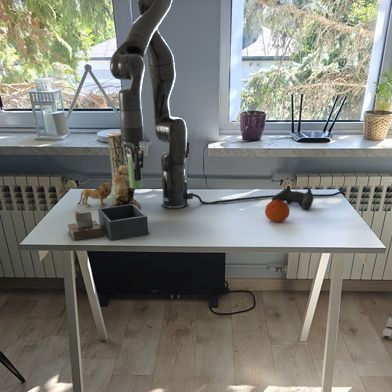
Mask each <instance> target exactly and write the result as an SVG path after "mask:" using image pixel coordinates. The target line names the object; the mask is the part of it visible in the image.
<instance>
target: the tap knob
mask: <svg viewBox="0 0 392 392" xmlns="http://www.w3.org/2000/svg"><path fill="white" fill-rule="evenodd" d="M73 215H74V222H75V223H76V227H77V228H82V227H89V226H93V222H92V221H93V216H92V215H93V214H92V211H91V210H90V209H87V210H80V211H77V210H76V211H74V212H73Z"/></svg>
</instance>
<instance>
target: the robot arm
mask: <svg viewBox="0 0 392 392" xmlns="http://www.w3.org/2000/svg"><path fill="white" fill-rule="evenodd" d="M172 3H173V0H136V5H137V9H138V15H139V17H138V18H137V19H136V20H135V21H134V22H133V23H132V25H131V26H130V28H129V30H128V32H127V35H126V37H125V39H124V41H123V42H122V43H121V44H120V45H119V46H118V47H117V49H116V50H115V51H114V53H113V54H112V56H111V58H110V62H109V71H110V74H111V76H112V77H113V78H114V79H116V80H122V81H124V80H125V81H128V80H129V81H130V85H129V87H124V88H121V89H119V91H118V106H119V107H118V108H119V129H120V130H119V131H121V139H122V141H124V142H125V144H124V149H125V155H126V162H127V164H128V157H127V153H130V155H131V162H133V168H134V179H135V180H136V181H139V180H141V170H142V169H143V168H144V156H145V155H144V153H145V152H144V150H142V147H141V145H140V142H142V141H144V140H145V129H144V128H145V127H144V116H143V115H144V114H143V109H142V90H143V89H142V88H143V82H144V76H145V72H146V64H145V61H144V59H143V58H144V57H145V55H146V59H147V67H148V74H149V80H150V84H151V85H150V86H151V94H152V95H151V96H152V101H153V102H152V103H153V118H154V119H153V121H154V132H155V135H156V138H157V139H158V141H160V142H162V143H166V144H167V143H168V151H165V152H162V153H161V155H160V165H161V186H162V188H161V189H162V206H163V207H164V208H167V209H180V208H184V207H186V206H188V201H189V200H193V199H194V198H197V199H198V200H199V202H200V204H203V205H216V204H220V203H231V202H238V201H247V200H256V199H257V200H258V199H269V198H271V199H272V198H273V196H275V195H276V194H271V195H258V196H247V197H238V198H237V197H236V198H229V199H221V200H215V201H208V202H207V201H203V200H202V198H201V196H199V195H198V194H196V193H194V192H193V191H191V190H189V189H188V182H187V180H186V161H185V159H186V155H187V145H188V144H187V142H188V141H187V139H188V129H187V124H186V121H185V120H184V119H183V118H181V117H176V116H171V111H170V98H171V94H172V92H173V91H172V90H173V88H174V85H175V81H176V69H175V68H176V67H175V60H174V59H175V58H174V55H173V53H172V49H170V47H169V45H168V44H167V43H166V41H165V39H164V38H163V37H162V34H161V33H160V32H159V29H158V27H159V25H161V24H162V21H163V20H164V18H165V17H166V16H167V13H168V12H169V11H170V8H171V7H172ZM133 157H134V158H135V159H133ZM138 162H139V165H138ZM312 194H313V197H320V198H321V197H335V196H338V195H342V196H346V195H347V194H346V193H345V192H344V191H337V192H334V193H327V194H325V193H321V194H320V193H312Z"/></svg>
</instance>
